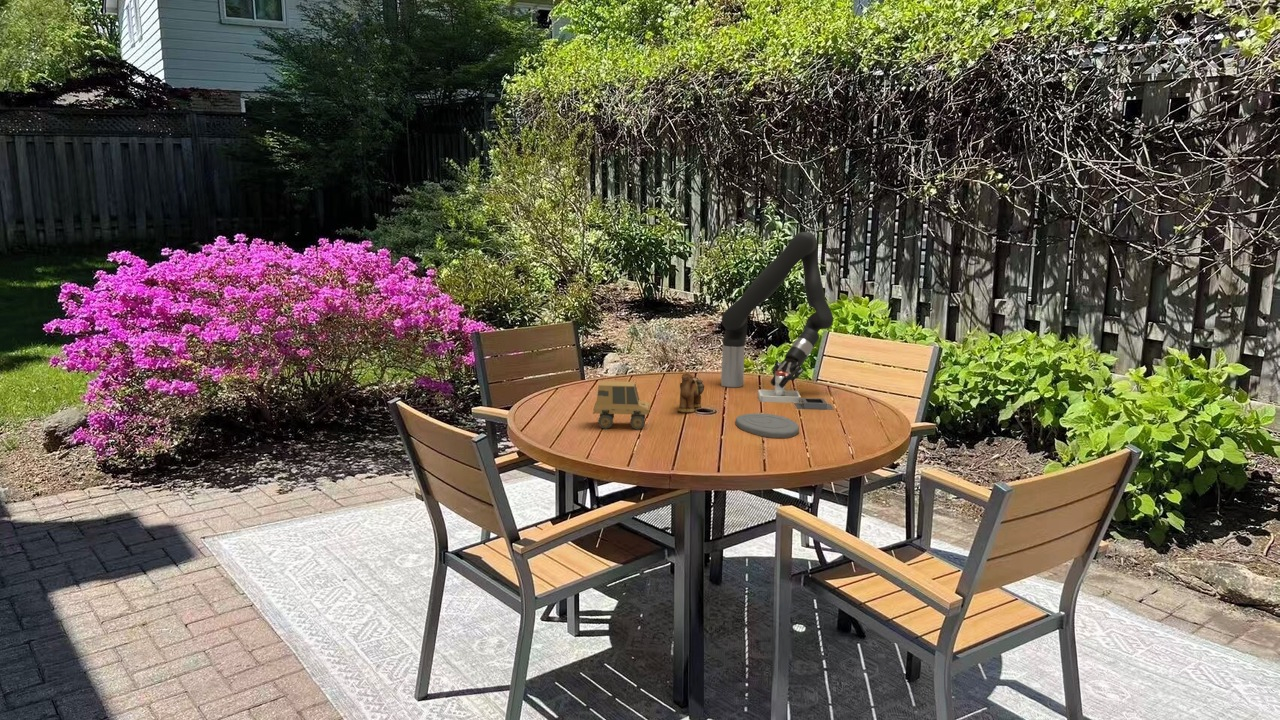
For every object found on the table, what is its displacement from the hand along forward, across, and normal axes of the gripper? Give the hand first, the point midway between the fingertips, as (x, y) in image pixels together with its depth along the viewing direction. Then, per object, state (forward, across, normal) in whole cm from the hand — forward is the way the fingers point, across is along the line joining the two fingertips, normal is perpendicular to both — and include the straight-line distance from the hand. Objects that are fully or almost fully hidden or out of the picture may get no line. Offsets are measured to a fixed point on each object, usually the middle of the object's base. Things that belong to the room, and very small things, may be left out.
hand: (776, 385), depth 343 cm
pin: (+2, 0, +5) cm, 5 cm away
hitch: (+2, +16, +7) cm, 18 cm away
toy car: (+55, -4, -46) cm, 72 cm away
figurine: (+31, -8, -22) cm, 39 cm away
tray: (+3, 0, +6) cm, 7 cm away
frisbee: (+27, +26, -17) cm, 41 cm away
